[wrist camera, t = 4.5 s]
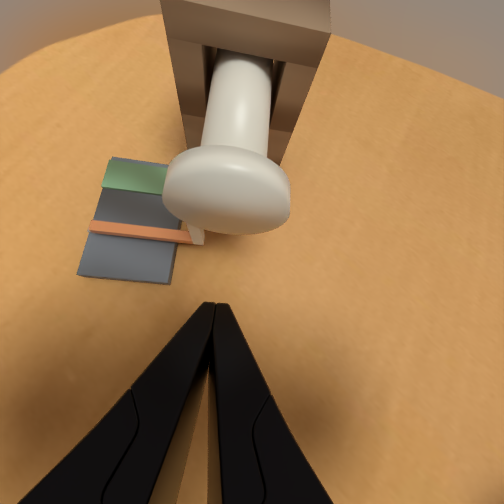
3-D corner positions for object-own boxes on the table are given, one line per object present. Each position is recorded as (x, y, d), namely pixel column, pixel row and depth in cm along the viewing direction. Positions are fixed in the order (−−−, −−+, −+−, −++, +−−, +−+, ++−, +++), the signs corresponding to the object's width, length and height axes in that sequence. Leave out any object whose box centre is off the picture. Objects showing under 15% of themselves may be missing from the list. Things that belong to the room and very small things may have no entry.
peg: (263, 254, 14) (309, 186, 7) (92, 236, 13) (-72, 130, 6) (271, 116, 17) (309, -32, 10) (134, 92, 16) (65, -93, 9)
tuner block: (266, 293, 15) (340, 254, 6) (84, 277, 14) (-185, 194, 5) (275, 130, 19) (327, -47, 10) (134, 106, 17) (42, -122, 8)
